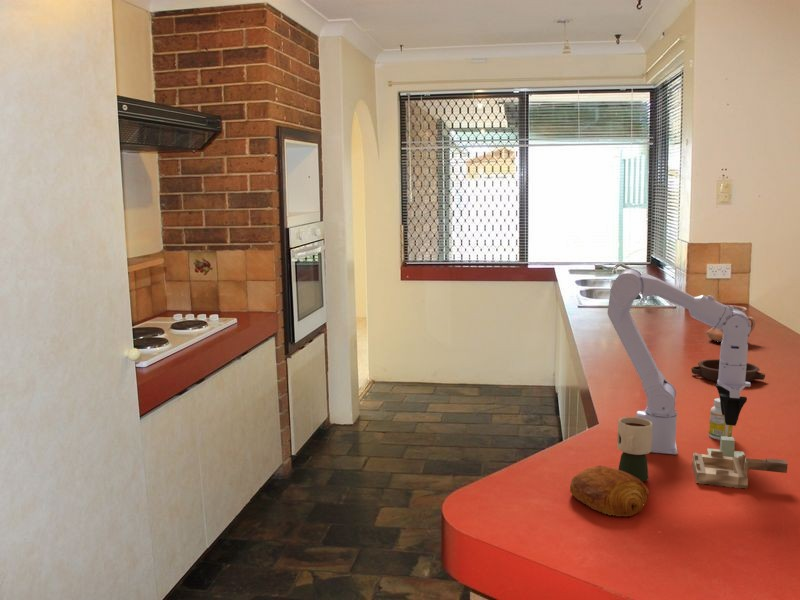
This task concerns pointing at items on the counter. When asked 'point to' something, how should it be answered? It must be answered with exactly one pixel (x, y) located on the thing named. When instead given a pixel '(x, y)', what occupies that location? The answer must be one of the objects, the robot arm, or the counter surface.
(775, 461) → the brown rectangular bar
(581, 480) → the croissant
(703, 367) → the dish
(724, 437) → the lid
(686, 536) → the counter surface
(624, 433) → the character mug
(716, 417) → the supplement bottle
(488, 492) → the counter surface
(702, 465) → the box
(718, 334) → the ceramic jug
